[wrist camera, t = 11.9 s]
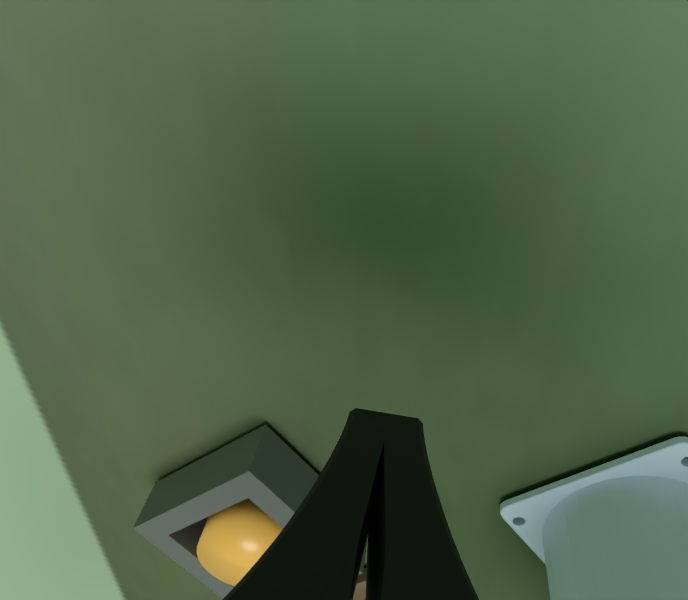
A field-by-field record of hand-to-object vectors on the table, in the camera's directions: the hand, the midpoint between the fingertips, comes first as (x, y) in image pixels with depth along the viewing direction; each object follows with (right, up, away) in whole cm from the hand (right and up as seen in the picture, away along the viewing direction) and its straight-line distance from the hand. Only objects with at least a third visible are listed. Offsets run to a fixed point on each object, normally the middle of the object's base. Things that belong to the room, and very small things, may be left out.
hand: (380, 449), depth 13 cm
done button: (-5, -7, +16) cm, 18 cm away
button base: (-4, -6, +16) cm, 18 cm away
